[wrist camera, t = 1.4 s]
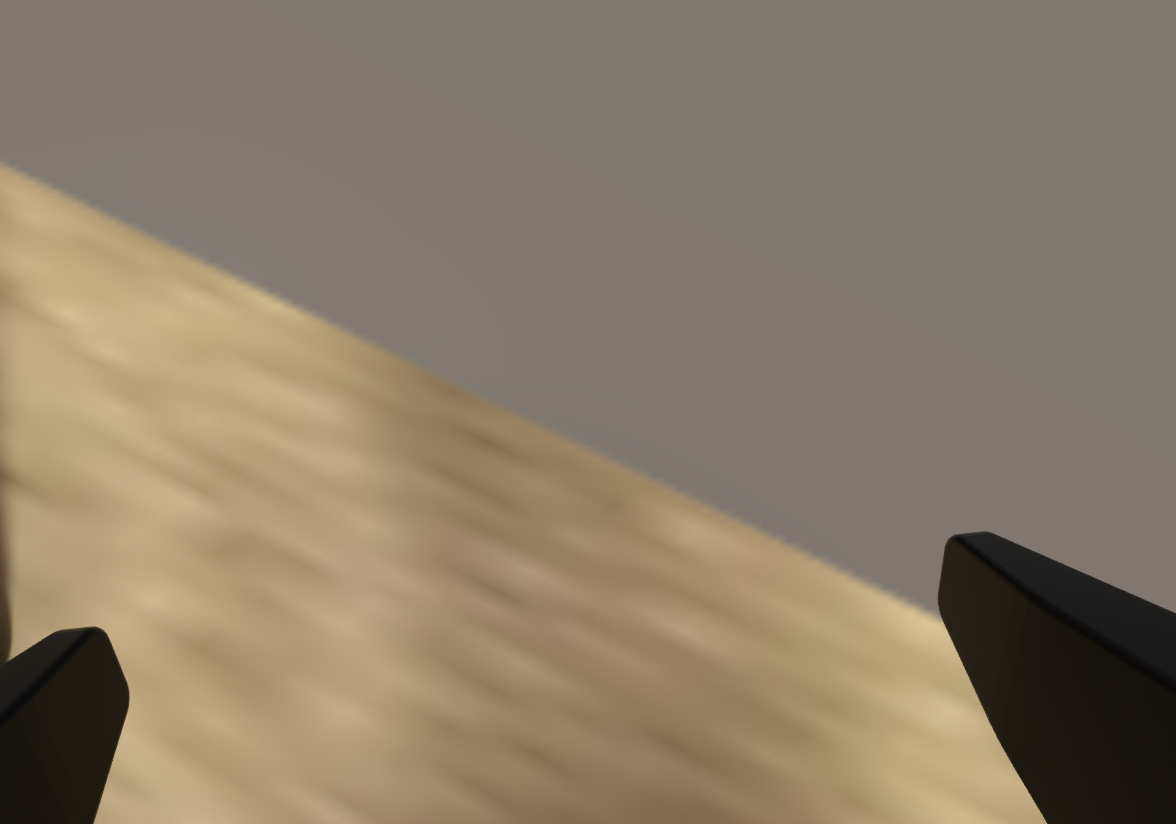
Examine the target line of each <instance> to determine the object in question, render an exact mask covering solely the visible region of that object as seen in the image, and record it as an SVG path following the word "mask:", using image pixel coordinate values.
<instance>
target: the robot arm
mask: <svg viewBox="0 0 1176 824" xmlns="http://www.w3.org/2000/svg"><path fill="white" fill-rule="evenodd" d="M938 606H939V611H940V615H941V617H942V620H943V622H944V624H945V627H946V629H947V631H948V633H949V635H950V637H951V640H952V642H953V644H954V646H955V648H956V650H957V653H958V655H959V657H960V659H961V661H962V663H963V666H964V668H965V670H966V672H967V674H968V676H969V679H970V681H971V683H972V685H973V687H974V689H975V692H976V694H977V696H978V698H979V700H980V703H981V705H982V707H983V709H984V711H985V713H986V716H987V718H988V720H989V722H990V724H991V726H992V728H993V730H994V732H995V734H996V736H997V738H998V740H999V742H1000V744H1001V746H1002V747H1003V749H1004V751H1005V753H1006V754H1007V756H1008V758H1009V760H1010V761H1011V763H1012V765H1013V767H1014V768H1015V770H1016V772H1017V773H1018V775H1019V777H1020V778H1021V780H1022V782H1023V783H1024V785H1025V787H1026V788H1027V790H1028V792H1029V793H1030V795H1031V797H1032V798H1033V800H1034V802H1035V803H1036V805H1037V807H1038V809H1039V810H1040V812H1041V814H1042V815H1043V817H1044V819H1045V820H1046V822H1047V824H1176V613H1174V612H1172V611H1169V610H1167V609H1164V608H1162V607H1160V606H1158V605H1155V604H1153V603H1151V602H1149V601H1146V600H1144V599H1142V598H1140V597H1137V596H1135V595H1133V594H1130V593H1128V592H1126V591H1124V590H1121V589H1119V588H1117V587H1114V586H1112V585H1110V584H1108V583H1105V582H1103V581H1101V580H1098V579H1096V578H1094V577H1092V576H1089V575H1087V574H1085V573H1082V572H1080V571H1078V570H1075V569H1073V568H1071V567H1069V566H1066V565H1064V564H1062V563H1060V562H1057V561H1055V560H1052V559H1050V558H1048V557H1046V556H1044V555H1041V554H1039V553H1037V552H1034V551H1032V550H1030V549H1028V548H1025V547H1023V546H1021V545H1018V544H1016V543H1014V542H1012V541H1009V540H1007V539H1005V538H1002V537H1000V536H998V535H995V534H993V533H991V532H984V531H983V532H974V533H965V534H956V535H953V536H952V537H950V538H949V539H948V541H947V543H946V545H945V550H944V556H943V563H942V570H941V577H940V584H939V591H938ZM128 707H129V688H128V684H127V681H126V679H125V676H124V674H123V671H122V669H121V666H120V664H119V661H118V659H117V656H116V654H115V651H114V649H113V647H112V644H111V642H110V639H109V637H108V635H107V634H106V632H105V631H104V630H102V629H101V628H98V627H83V628H74V629H65V630H59V631H56V632H54V633H52V634H50V635H49V636H47V637H46V638H44V639H43V640H41V641H39V642H38V643H36V644H35V645H33V646H32V647H30V648H28V649H27V650H25V651H24V652H22V653H20V654H19V655H17V656H16V657H14V658H13V659H11V660H9V661H8V662H6V663H5V664H3V665H2V666H0V824H94V821H95V817H96V814H97V811H98V808H99V804H100V801H101V798H102V794H103V791H104V788H105V784H106V781H107V778H108V775H109V771H110V768H111V765H112V761H113V758H114V755H115V751H116V748H117V745H118V741H119V738H120V735H121V732H122V728H123V725H124V722H125V718H126V715H127V712H128Z"/></svg>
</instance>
